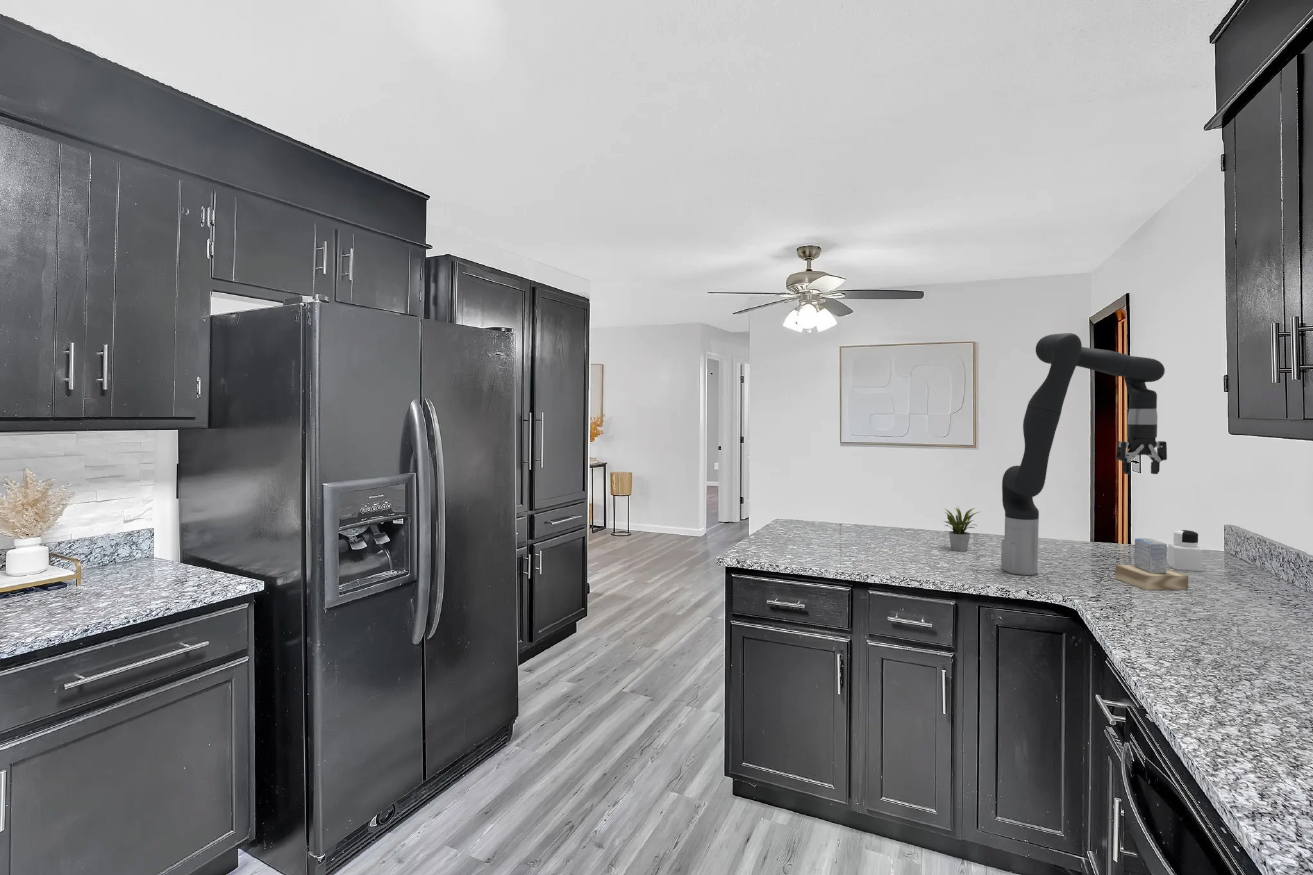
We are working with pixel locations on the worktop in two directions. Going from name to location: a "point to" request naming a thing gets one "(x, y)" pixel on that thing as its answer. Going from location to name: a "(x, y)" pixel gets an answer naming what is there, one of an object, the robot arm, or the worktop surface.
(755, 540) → the worktop surface
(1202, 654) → the worktop surface
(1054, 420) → the robot arm
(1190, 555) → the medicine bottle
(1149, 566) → the medicine box
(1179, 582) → the oak base
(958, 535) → the house plant
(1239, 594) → the worktop surface
